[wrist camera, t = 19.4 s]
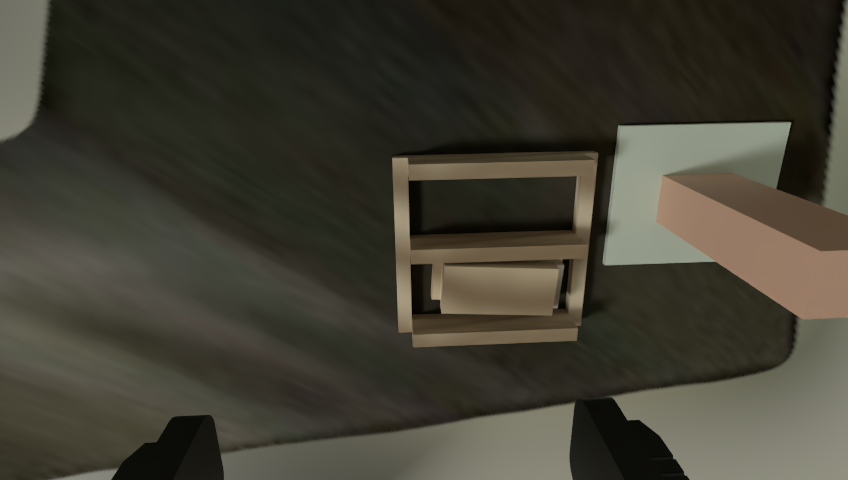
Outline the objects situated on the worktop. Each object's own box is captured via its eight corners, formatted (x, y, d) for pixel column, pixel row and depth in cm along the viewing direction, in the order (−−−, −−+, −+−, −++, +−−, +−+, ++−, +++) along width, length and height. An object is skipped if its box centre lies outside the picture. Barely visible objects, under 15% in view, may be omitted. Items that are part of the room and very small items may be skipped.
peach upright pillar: (662, 175, 43) (820, 251, 27) (733, 173, 43) (931, 246, 27) (655, 221, 44) (802, 319, 28) (724, 219, 45) (908, 314, 29)
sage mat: (618, 125, 42) (621, 126, 41) (786, 121, 42) (791, 122, 42) (602, 263, 46) (604, 265, 45) (756, 257, 47) (759, 259, 46)
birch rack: (392, 155, 42) (392, 165, 38) (593, 150, 42) (610, 159, 39) (398, 327, 47) (398, 347, 44) (576, 319, 48) (590, 339, 44)
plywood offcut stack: (433, 246, 45) (437, 265, 41) (558, 249, 46) (573, 268, 42) (430, 292, 46) (434, 315, 42) (551, 294, 47) (565, 317, 43)
